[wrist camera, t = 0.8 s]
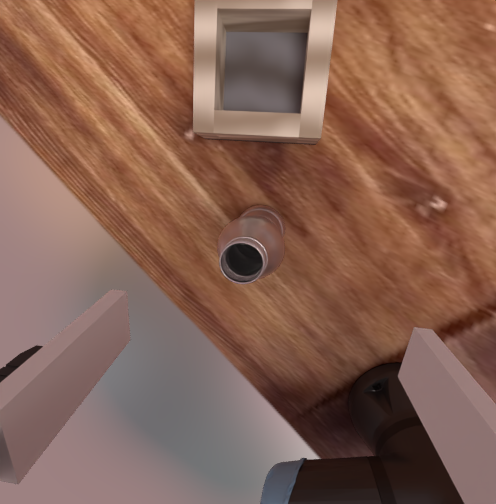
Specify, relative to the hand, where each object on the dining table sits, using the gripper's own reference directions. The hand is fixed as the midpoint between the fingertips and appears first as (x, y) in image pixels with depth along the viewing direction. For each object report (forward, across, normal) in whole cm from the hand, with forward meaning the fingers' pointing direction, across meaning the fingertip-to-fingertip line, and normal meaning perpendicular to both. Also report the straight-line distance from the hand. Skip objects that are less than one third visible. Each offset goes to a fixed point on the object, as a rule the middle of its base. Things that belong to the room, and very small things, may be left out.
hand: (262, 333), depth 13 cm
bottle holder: (+31, +3, -16) cm, 35 cm away
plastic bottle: (+30, +1, +3) cm, 30 cm away
